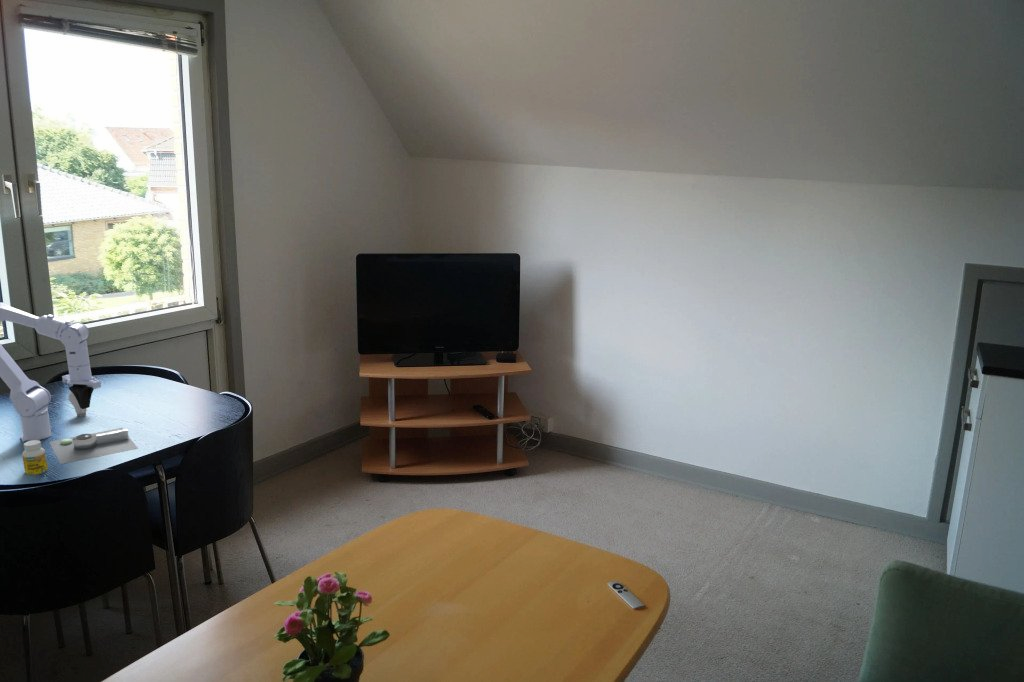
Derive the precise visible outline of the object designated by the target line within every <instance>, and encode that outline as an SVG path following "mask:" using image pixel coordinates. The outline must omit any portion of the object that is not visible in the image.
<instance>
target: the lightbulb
mask: <svg viewBox="0 0 1024 682" xmlns="http://www.w3.org/2000/svg"><path fill="white" fill-rule="evenodd" d="M67 396H68V397H67V398H68V400H69V401H68V402H69V403H70V404H71V405H72V406H73V409H74V411H75V413H76V417H77V418H82V417H86V416H87V409H88V408H86V409H81V408H80V406H79V404H78V401H77V399H76V397H75V396H74V394H73V393H72V392H71V391H70V390H69V393H68V395H67Z"/></svg>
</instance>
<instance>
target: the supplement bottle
mask: <svg viewBox="0 0 1024 682" xmlns="http://www.w3.org/2000/svg"><path fill="white" fill-rule="evenodd" d="M23 449H24V450H23V451H22V454H21V455H22V461H23V469H24V473H25V474H26V475H29V476H30V475H31V476H33V475H34V476H35V475H39V474H43V473H45V472H47V471H48V470H49V467H48V462H47V461H48V460H47V455H46V450H45V449H44V448H43V447H42V441H40V440H33V441H30V440H27V441H26V442H24V443H23Z"/></svg>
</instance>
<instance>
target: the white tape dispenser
mask: <svg viewBox="0 0 1024 682" xmlns="http://www.w3.org/2000/svg"><path fill="white" fill-rule="evenodd" d="M128 436H129V430H128V428H124V429H123V430H118V431H113V432H108V433H102V434H97V435H95V434H93V433H82V434H78V435H76V436H73V437H74V438H73V444H74V449H77V450H85V449H90V448H93V447H95V446H96V445H97V444H101V443H106V442H111V441H116V440H121V439H126V438H129V437H130V436H129V437H128Z"/></svg>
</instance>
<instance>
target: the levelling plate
mask: <svg viewBox="0 0 1024 682" xmlns="http://www.w3.org/2000/svg"><path fill="white" fill-rule="evenodd" d="M118 430H123V428H122V427H120V428H115V429H110V430H105V431H97V432H94V433H92V434H95V435H97V434H102V433H108V432H113V431H118ZM74 437H75V436H73V437H72V436H71V437H66V438H60V439H55V440H51V441H49V442H48V443H49V445H50V447H51V448H52V451H53V453H54V455H55V456H56V458H57V460H58V462H59V464H60V465H65V464H69V463H73V462H79V461H85V460H87V459H88V460H89V459H93V458H99V457H102V456H108V455H114V454H117V453H124V452H128V451H132V450H138V449H139V448H138V446H137V445H136V444H135V442H134V441H133V440H132V438H131V437H130V436H129V435H128V437H129V438H126V439H121V440H116V441H111V442H106V443H101V444H97V445H96V446H95V447H93V448H90V449H85V450H77V449H74V444H73V438H74Z"/></svg>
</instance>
